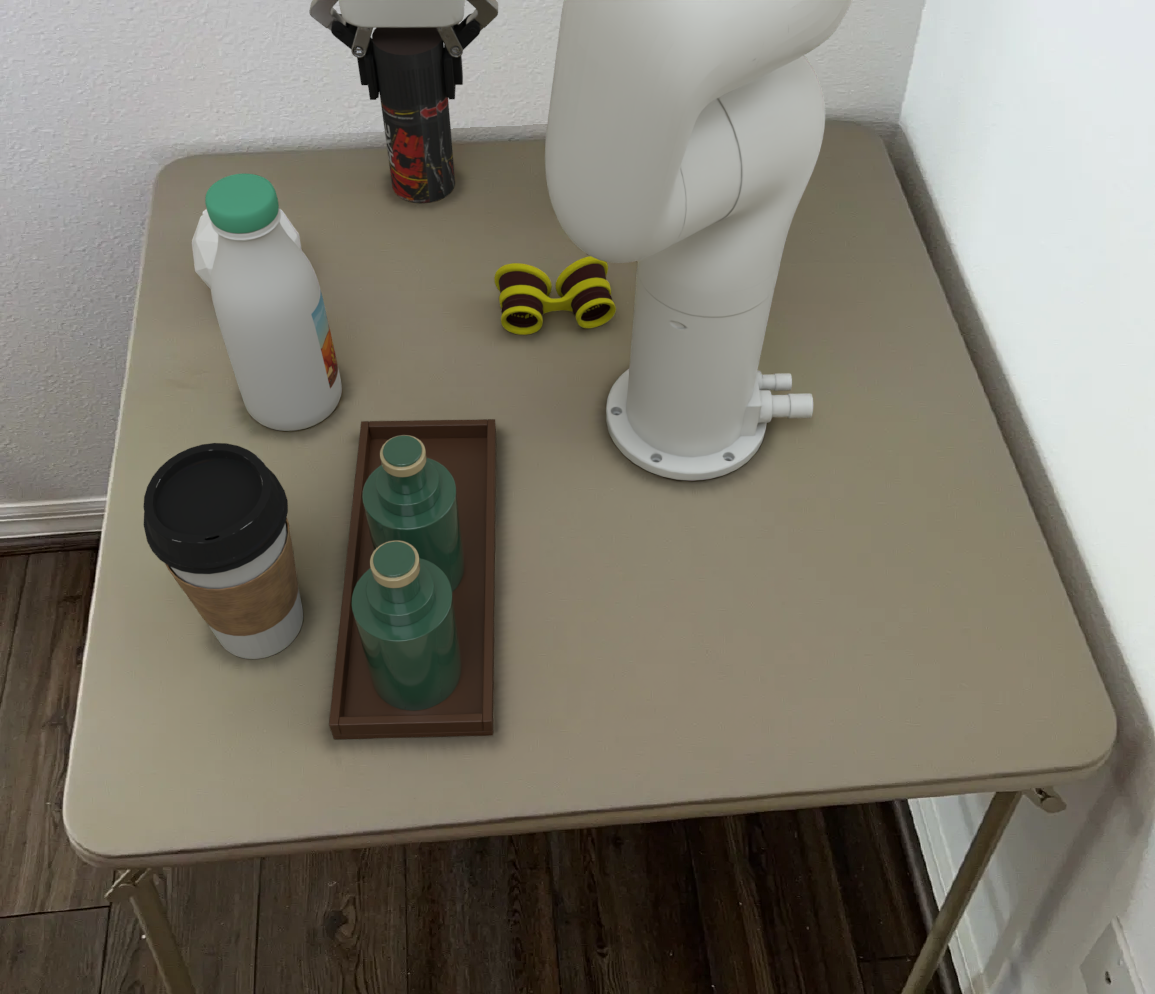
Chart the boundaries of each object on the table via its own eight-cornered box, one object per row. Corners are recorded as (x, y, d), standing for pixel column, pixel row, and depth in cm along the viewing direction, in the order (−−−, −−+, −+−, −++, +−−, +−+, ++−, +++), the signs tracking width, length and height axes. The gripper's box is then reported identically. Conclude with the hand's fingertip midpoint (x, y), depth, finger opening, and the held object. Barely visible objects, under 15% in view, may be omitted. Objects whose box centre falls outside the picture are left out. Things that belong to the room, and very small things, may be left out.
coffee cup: (203, 690, 74) (135, 563, 62) (192, 585, 79) (127, 449, 67) (330, 659, 76) (288, 530, 64) (312, 558, 81) (270, 421, 69)
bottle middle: (465, 533, 82) (452, 412, 71) (463, 604, 78) (449, 487, 67) (382, 534, 81) (356, 413, 71) (376, 606, 78) (348, 489, 67)
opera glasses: (501, 344, 95) (501, 310, 91) (494, 293, 97) (493, 257, 93) (615, 333, 96) (620, 298, 92) (605, 283, 98) (609, 246, 94)
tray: (496, 436, 88) (495, 418, 86) (493, 735, 73) (491, 721, 71) (364, 438, 88) (360, 420, 86) (333, 739, 72) (328, 725, 71)
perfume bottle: (338, 285, 95) (286, 221, 102) (282, 206, 88) (230, 143, 95) (253, 346, 94) (207, 276, 102) (190, 271, 87) (144, 202, 94)
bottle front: (462, 629, 77) (448, 514, 66) (460, 709, 73) (444, 602, 63) (374, 631, 77) (345, 516, 66) (367, 712, 73) (336, 604, 62)
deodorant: (468, 183, 107) (457, 36, 95) (420, 211, 104) (403, 63, 92) (426, 155, 109) (411, 8, 97) (379, 182, 106) (357, 35, 95)
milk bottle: (324, 441, 87) (274, 238, 71) (230, 425, 88) (159, 221, 72) (356, 370, 92) (315, 164, 76) (266, 355, 93) (206, 149, 77)
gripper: (505, -147, 87) (512, 66, 101) (279, -147, 86) (318, 67, 101) (505, -100, 82) (512, 115, 97) (266, -100, 82) (309, 117, 96)
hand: (413, 89), depth 99 cm, fingers closed on deodorant, 6 cm apart
